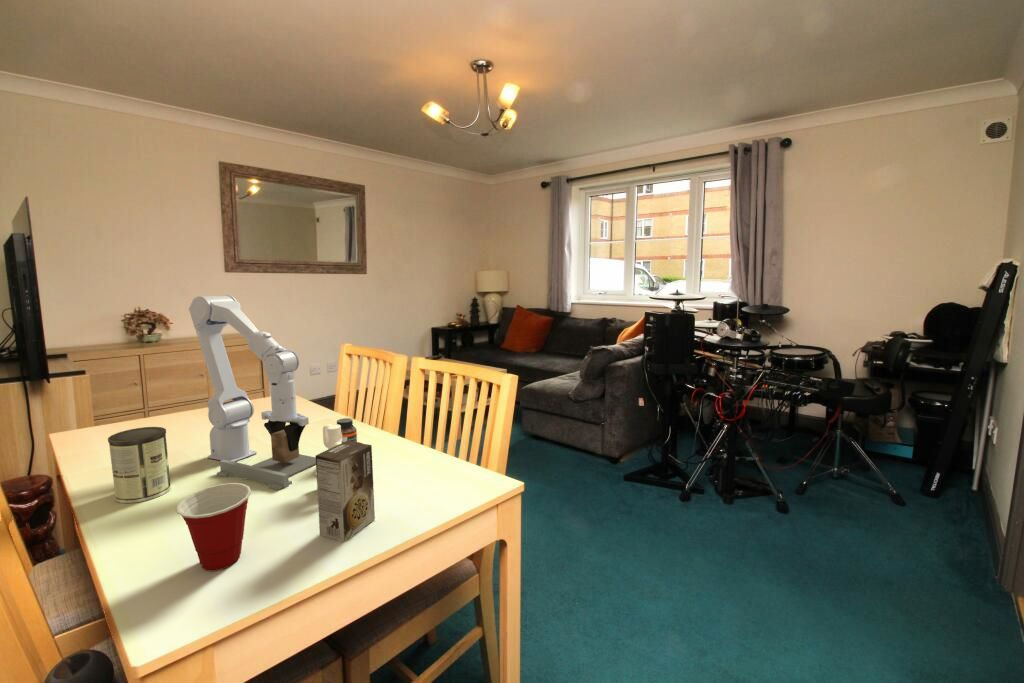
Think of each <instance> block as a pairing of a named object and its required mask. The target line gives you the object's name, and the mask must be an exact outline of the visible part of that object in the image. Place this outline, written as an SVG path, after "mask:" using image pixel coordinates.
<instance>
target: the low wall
mask: <svg viewBox="0 0 1024 683" xmlns="http://www.w3.org/2000/svg"><path fill="white" fill-rule="evenodd" d="M219 470H220V471H217V472H216V475H217V476H220V477H223V478H226V477H228V476H233V477H237V478H241V479H245V480H249V481H253V482H257V483H262V484H266V485H268V488H269V489H272V490H277V491H280V490H282V489H286V488H287V487H289V486H290V485H293V481H292V480H289V478H288V474H286V473H281V472H277V471H272V470H268V469H263V468H259V467H255V466H252V465H249V464H247V463H240V462H237V461H235V462H232V461H228V460H222V461H221V460H219Z"/></svg>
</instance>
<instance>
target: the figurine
mask: <svg viewBox="0 0 1024 683" xmlns="http://www.w3.org/2000/svg"><path fill="white" fill-rule="evenodd" d="M322 438H323V445H324V446H325V448H326V449H327V450H328V449H330V448H333V447H335V446H337V445H339V444H341V443H342V442H341V441H342V433H341V425H338V424H337V423H336V424H335V425H333V424H330V423H329V424H325V425H323V427H322ZM314 473H315V475H316V476H317V473H316V472H314Z"/></svg>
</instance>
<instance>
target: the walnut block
mask: <svg viewBox="0 0 1024 683" xmlns="http://www.w3.org/2000/svg"><path fill="white" fill-rule="evenodd" d="M270 441H271V456H272V457H271V458H272V460H274V461H279V462H284V463H286V462H288V461H291V460H293V459H295V458H298V457H299V454H300V449H299V444H300V443H299V444H298V449H297V450H294V451H289V447H288V440H287V436H286V433H285V431H284V430H281V431H278V432H275V433H273V434H271V436H270Z"/></svg>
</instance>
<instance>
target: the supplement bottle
mask: <svg viewBox="0 0 1024 683" xmlns="http://www.w3.org/2000/svg"><path fill="white" fill-rule="evenodd" d="M353 423H354V422H353V419H352V418H351V417H349V418H339V419H337V420H336V424H338V425H341V433H342V441H341V442H342V443H343V442H345V441H354V442H358V434H357V433H358V432H357V428H356V426H354V425H353Z"/></svg>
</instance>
